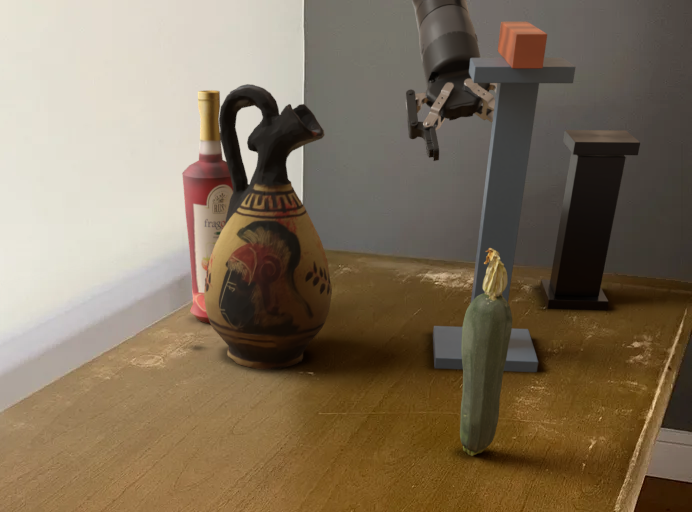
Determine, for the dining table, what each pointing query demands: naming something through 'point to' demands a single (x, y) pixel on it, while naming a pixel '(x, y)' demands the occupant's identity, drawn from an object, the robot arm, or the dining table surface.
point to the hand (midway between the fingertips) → (469, 150)
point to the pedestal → (587, 218)
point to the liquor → (206, 197)
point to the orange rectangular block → (522, 45)
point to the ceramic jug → (267, 242)
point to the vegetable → (484, 358)
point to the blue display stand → (503, 192)
